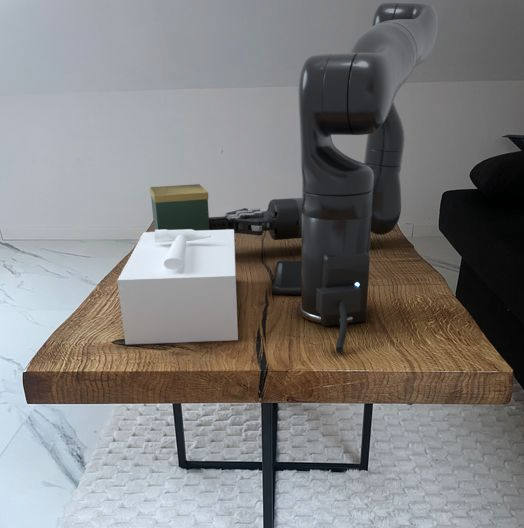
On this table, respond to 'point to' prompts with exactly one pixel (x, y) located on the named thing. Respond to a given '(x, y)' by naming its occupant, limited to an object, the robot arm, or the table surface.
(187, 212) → the tea tin
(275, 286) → the phone
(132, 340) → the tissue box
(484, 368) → the table surface
